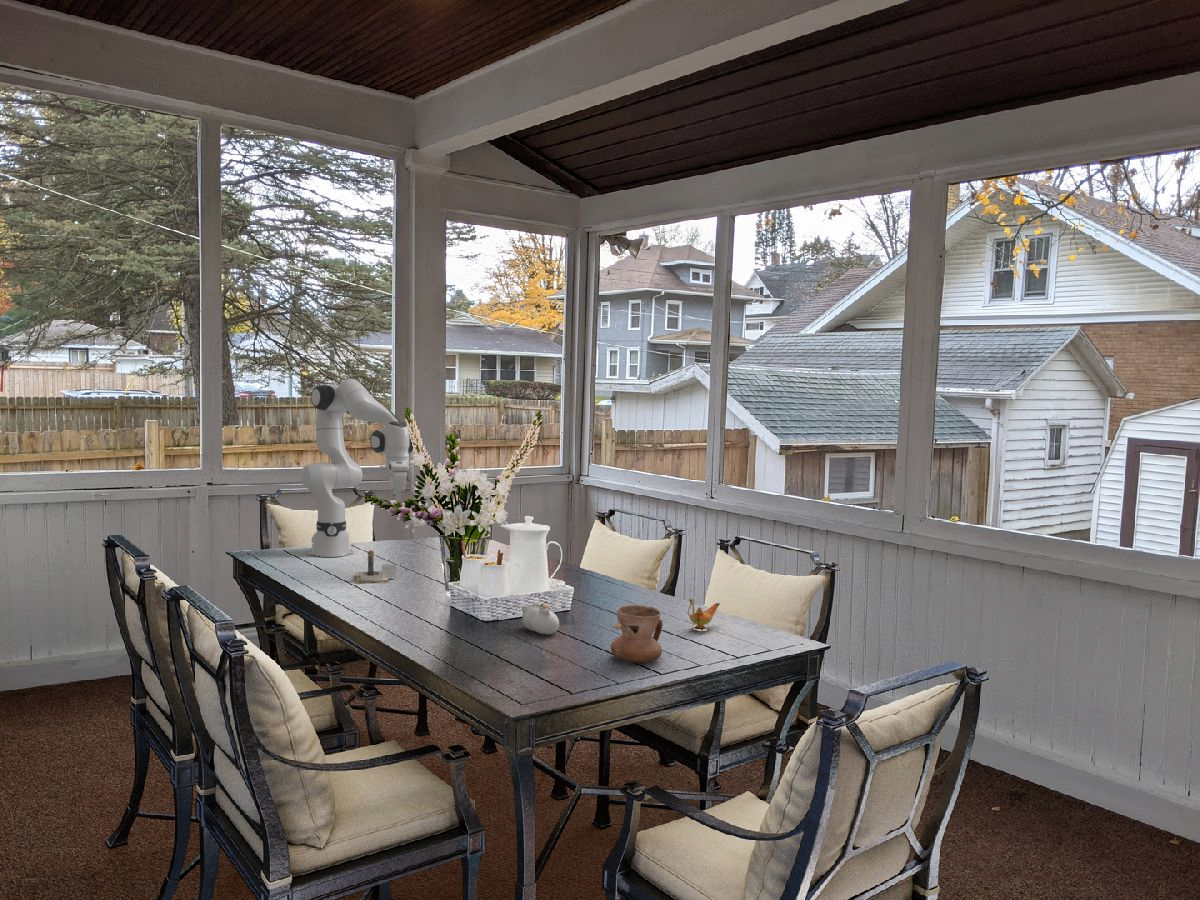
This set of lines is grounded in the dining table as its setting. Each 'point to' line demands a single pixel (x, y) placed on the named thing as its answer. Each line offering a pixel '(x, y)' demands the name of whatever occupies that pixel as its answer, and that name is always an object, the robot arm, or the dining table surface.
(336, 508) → the robot arm
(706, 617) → the magic lamp
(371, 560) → the peg stand
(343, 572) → the dining table surface
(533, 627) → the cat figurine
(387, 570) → the link
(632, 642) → the ceramic jug
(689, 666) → the dining table surface
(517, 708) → the dining table surface
